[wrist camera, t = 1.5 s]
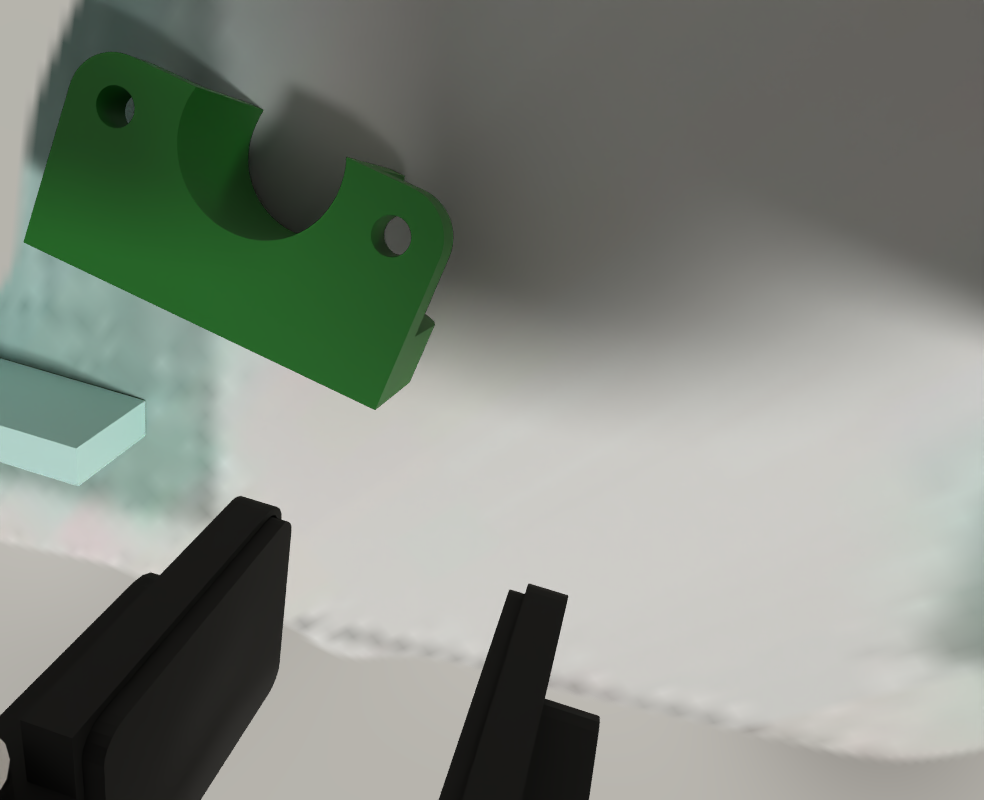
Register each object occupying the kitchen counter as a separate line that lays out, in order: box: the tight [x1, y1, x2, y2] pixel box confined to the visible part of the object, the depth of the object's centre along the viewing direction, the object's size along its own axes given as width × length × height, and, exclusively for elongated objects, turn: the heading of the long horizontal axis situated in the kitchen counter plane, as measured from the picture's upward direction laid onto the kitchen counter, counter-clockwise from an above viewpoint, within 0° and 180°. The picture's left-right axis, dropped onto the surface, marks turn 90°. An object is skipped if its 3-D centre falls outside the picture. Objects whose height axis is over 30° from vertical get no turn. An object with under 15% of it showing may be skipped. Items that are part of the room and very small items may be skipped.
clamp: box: [24, 52, 453, 410], centre depth 25 cm, size 12×6×9 cm, turn 62°
